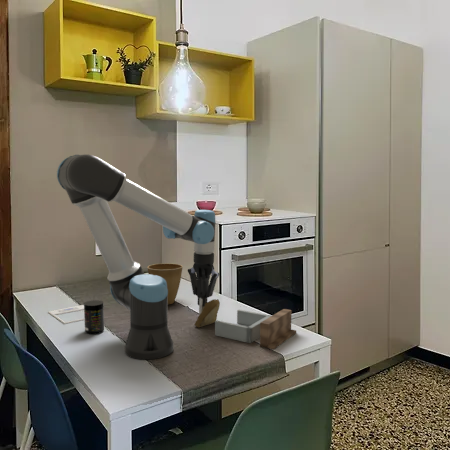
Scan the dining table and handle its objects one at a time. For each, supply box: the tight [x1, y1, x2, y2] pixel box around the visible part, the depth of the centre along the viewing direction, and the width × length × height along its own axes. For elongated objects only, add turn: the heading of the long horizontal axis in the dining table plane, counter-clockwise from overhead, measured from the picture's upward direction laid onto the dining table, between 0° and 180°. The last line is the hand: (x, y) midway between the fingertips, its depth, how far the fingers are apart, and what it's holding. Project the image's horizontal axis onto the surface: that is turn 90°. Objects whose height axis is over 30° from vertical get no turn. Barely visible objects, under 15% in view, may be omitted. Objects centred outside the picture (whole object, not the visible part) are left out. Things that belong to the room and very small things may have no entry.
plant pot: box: [147, 262, 183, 305], centre depth 203 cm, size 15×15×16 cm
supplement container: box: [83, 299, 105, 335], centre depth 166 cm, size 7×7×10 cm
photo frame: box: [47, 304, 84, 325], centre depth 186 cm, size 15×1×18 cm
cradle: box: [214, 309, 272, 344], centre depth 167 cm, size 16×14×5 cm
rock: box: [194, 298, 221, 329], centre depth 175 cm, size 11×9×10 cm
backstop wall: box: [259, 308, 297, 350], centre depth 160 cm, size 18×5×8 cm, turn 148°
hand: (202, 314), depth 176 cm, fingers closed
